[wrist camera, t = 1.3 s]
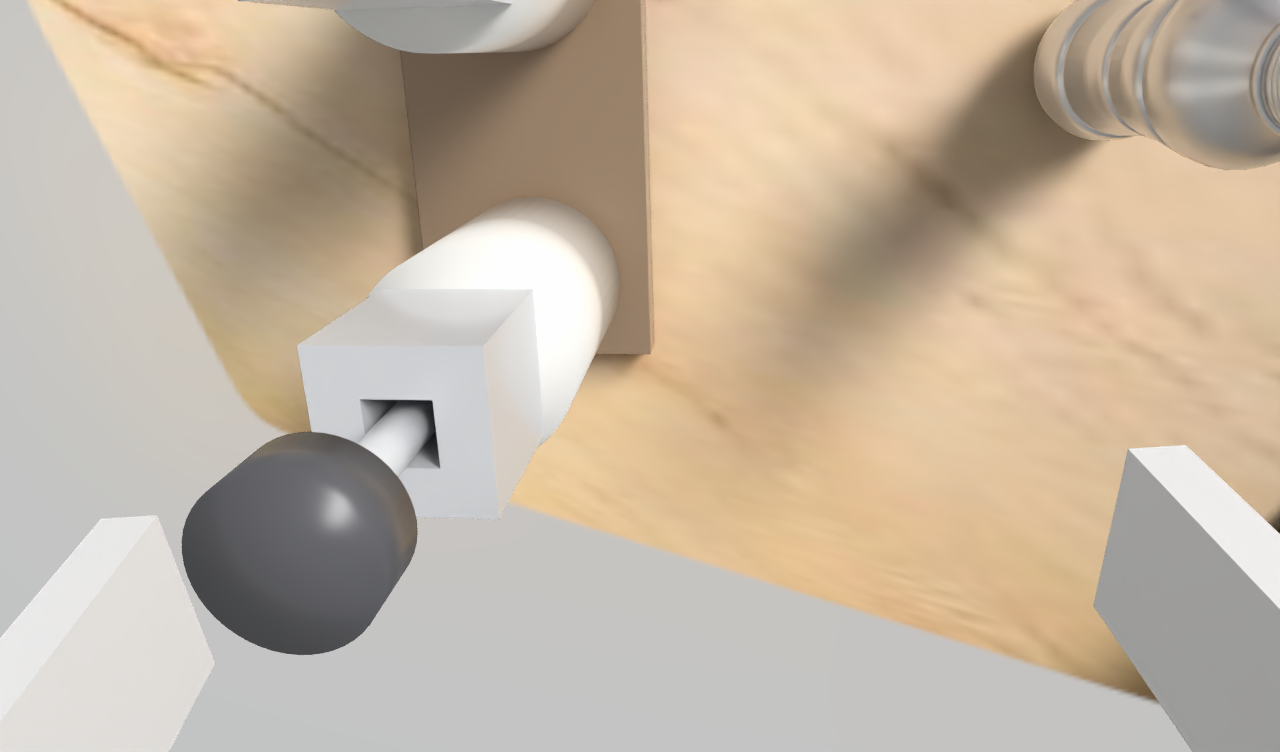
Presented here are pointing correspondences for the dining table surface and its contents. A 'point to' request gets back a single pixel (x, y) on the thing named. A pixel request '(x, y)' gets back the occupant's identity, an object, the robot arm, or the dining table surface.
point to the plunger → (309, 534)
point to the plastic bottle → (1168, 76)
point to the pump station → (499, 236)
